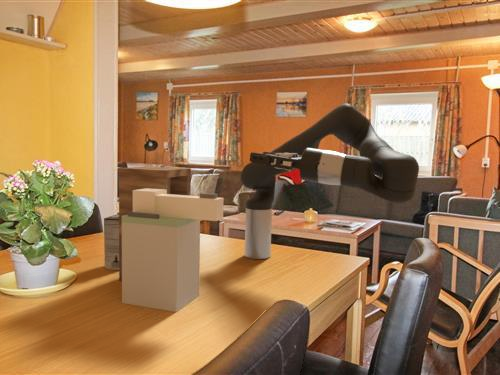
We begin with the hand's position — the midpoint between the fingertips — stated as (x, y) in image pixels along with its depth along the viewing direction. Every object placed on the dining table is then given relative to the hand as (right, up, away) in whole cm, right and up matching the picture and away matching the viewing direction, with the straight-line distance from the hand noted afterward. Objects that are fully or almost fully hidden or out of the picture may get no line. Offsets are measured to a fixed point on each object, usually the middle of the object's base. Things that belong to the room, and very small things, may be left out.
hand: (256, 156), depth 103 cm
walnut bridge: (-29, -34, +24) cm, 51 cm away
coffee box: (-43, -33, +35) cm, 64 cm away
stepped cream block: (-19, -14, +2) cm, 24 cm away
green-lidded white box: (-24, -36, +6) cm, 43 cm away
